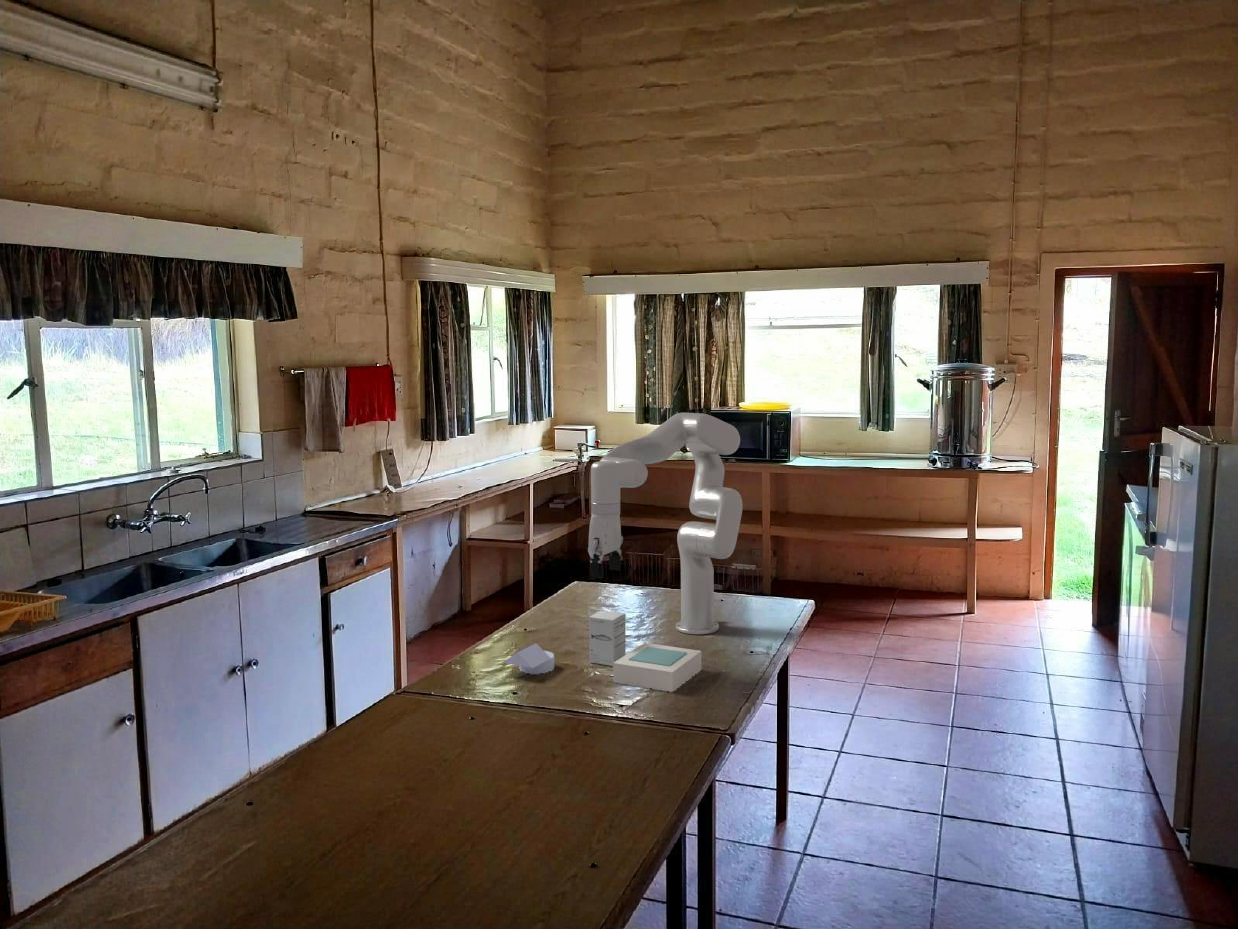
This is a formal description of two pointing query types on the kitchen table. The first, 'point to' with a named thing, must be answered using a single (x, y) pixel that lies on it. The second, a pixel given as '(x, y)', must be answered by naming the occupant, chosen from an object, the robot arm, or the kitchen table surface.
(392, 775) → the kitchen table surface
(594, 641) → the supplement box
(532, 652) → the wedge on round base
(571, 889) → the kitchen table surface
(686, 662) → the stand
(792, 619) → the kitchen table surface
